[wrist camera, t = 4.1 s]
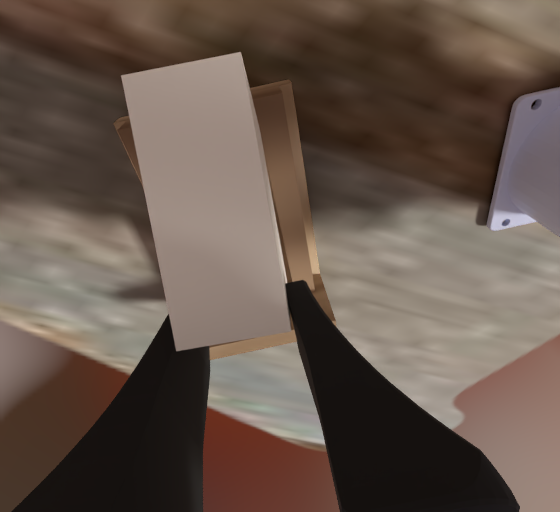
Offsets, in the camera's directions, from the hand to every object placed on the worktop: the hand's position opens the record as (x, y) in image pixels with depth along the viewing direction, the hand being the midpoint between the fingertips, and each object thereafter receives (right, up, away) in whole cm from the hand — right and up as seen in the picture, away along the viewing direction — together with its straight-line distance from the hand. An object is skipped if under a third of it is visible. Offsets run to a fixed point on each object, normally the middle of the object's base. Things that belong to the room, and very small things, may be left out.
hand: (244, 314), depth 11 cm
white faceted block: (-1, +4, +3) cm, 5 cm away
